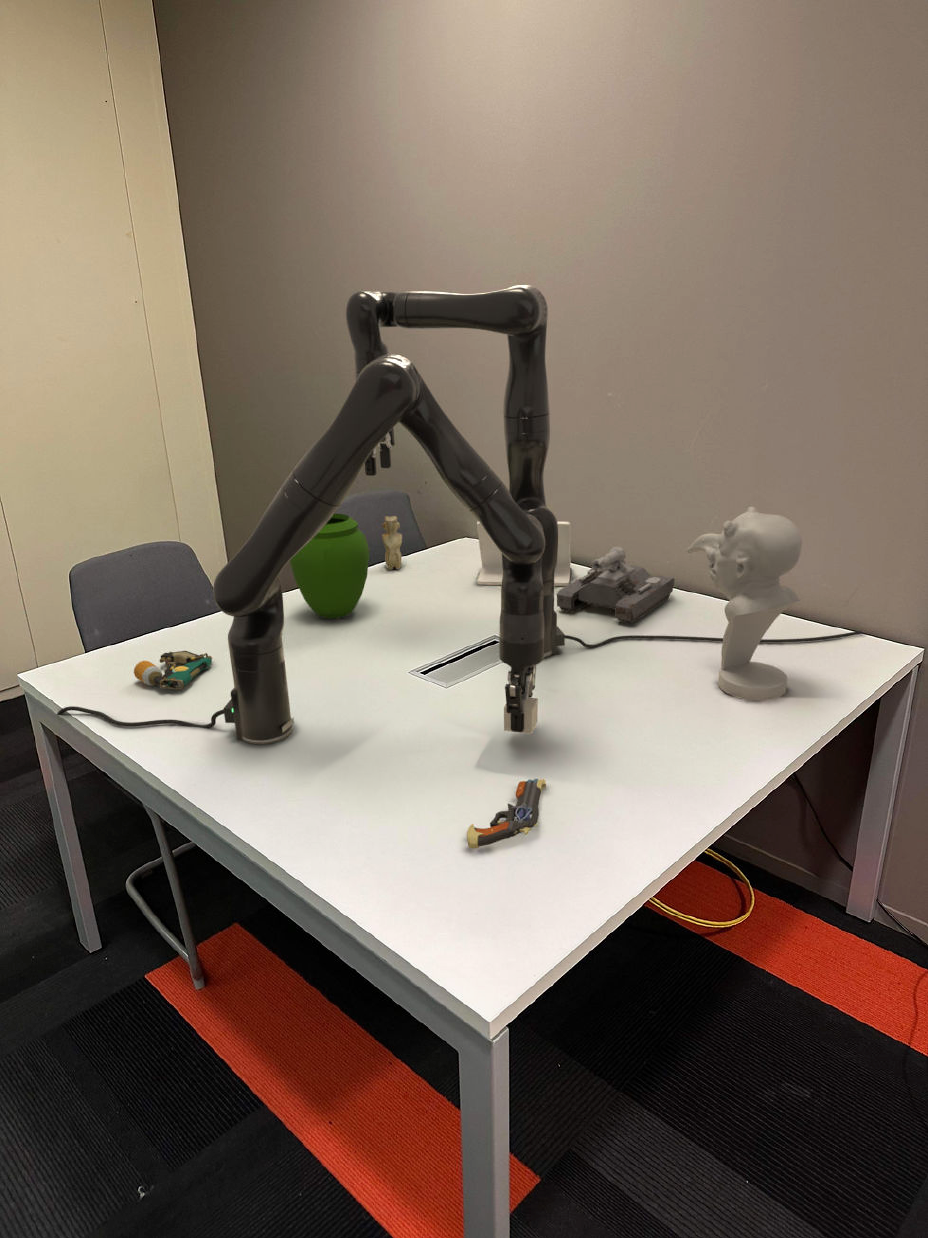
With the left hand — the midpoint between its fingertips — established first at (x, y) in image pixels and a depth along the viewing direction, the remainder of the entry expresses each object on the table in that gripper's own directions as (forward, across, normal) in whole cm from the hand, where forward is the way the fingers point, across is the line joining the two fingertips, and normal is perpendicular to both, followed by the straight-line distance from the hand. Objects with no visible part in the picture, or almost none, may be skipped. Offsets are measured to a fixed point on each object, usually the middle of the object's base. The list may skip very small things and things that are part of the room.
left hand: (520, 723), depth 149 cm
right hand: (-35, +39, +40) cm, 67 cm away
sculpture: (+4, +92, +59) cm, 110 cm away
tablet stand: (+4, +93, +20) cm, 95 cm away
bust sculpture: (+3, +33, -36) cm, 49 cm away
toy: (+3, +74, -8) cm, 74 cm away
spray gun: (+4, +10, +77) cm, 78 cm away
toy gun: (+3, -24, -4) cm, 24 cm away
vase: (+4, +52, +60) cm, 80 cm away
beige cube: (+1, 0, 0) cm, 1 cm away
